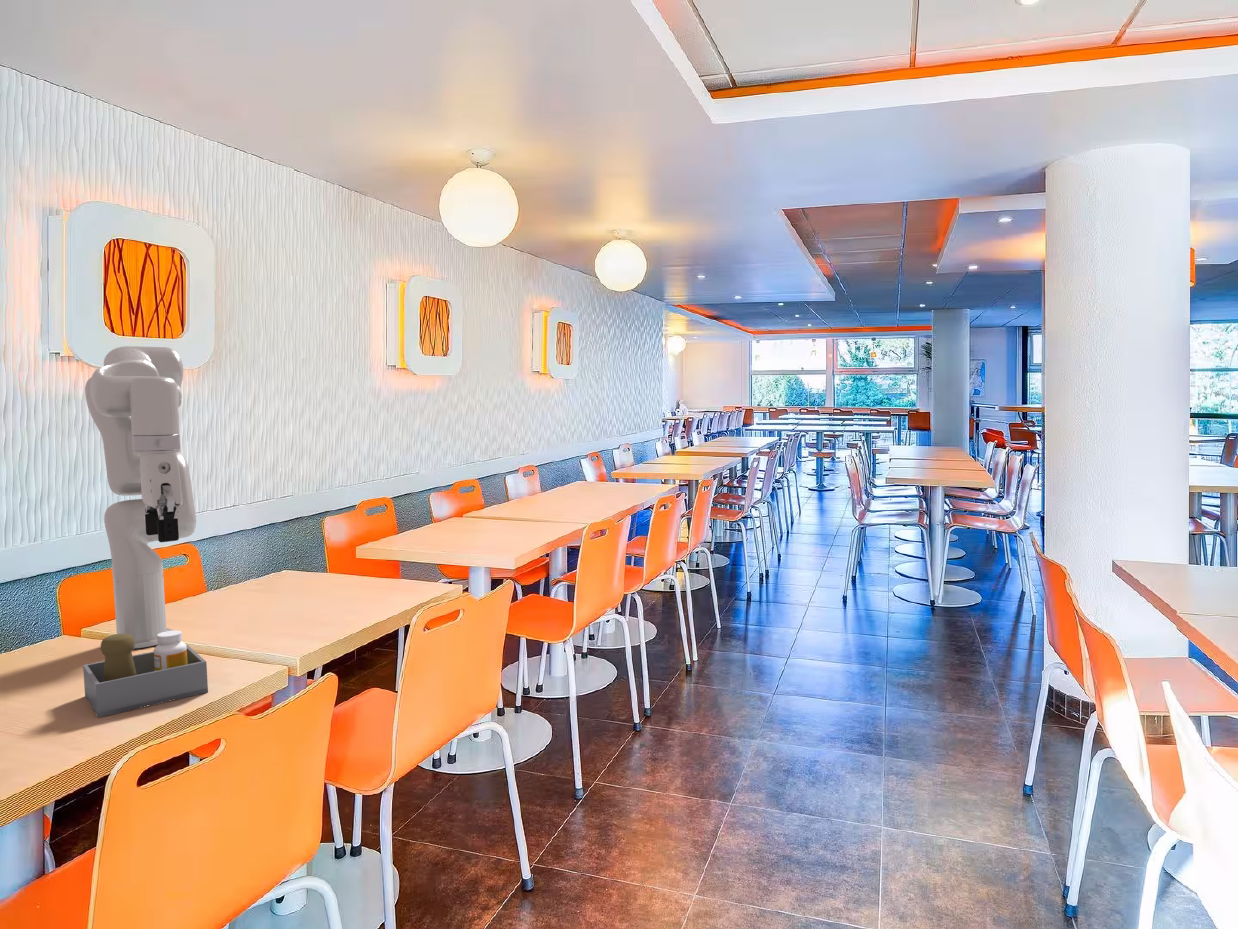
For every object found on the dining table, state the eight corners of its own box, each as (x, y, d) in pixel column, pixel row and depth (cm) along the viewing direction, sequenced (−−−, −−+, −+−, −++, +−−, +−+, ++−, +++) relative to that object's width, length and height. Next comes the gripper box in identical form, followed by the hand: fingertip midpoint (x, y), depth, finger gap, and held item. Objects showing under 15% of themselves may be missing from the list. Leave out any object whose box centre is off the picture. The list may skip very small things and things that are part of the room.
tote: (85, 696, 147) (82, 665, 146) (189, 673, 158) (187, 645, 157) (98, 717, 137) (95, 684, 136) (208, 692, 148) (206, 661, 148)
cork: (92, 700, 143) (88, 639, 142) (120, 688, 148) (116, 629, 147) (122, 702, 141) (118, 641, 140) (148, 690, 147) (144, 631, 146)
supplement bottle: (194, 678, 153) (191, 628, 152) (180, 689, 148) (177, 637, 147) (164, 679, 153) (161, 629, 152) (150, 690, 147) (146, 638, 146)
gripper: (191, 446, 143) (197, 541, 144) (168, 441, 156) (173, 529, 157) (143, 448, 138) (149, 547, 139) (123, 443, 151) (129, 534, 152)
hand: (162, 537), depth 148 cm, fingers open, 9 cm apart
